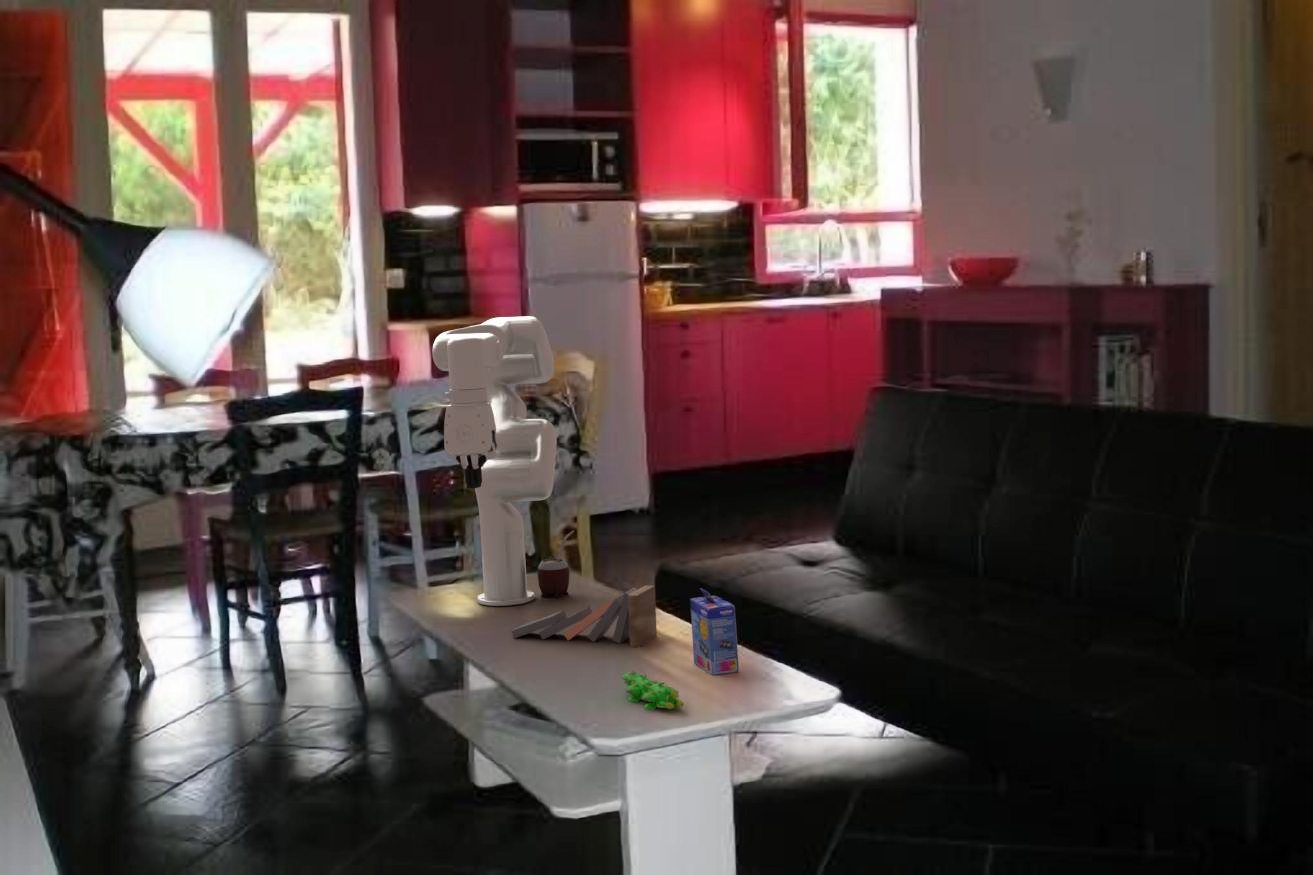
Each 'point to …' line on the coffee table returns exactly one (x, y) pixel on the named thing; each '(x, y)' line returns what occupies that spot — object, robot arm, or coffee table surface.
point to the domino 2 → (565, 623)
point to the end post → (642, 616)
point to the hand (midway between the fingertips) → (474, 487)
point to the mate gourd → (554, 575)
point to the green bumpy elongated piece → (650, 691)
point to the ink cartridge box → (714, 634)
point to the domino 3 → (587, 621)
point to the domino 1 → (539, 624)
